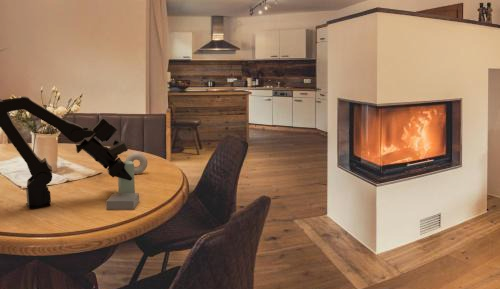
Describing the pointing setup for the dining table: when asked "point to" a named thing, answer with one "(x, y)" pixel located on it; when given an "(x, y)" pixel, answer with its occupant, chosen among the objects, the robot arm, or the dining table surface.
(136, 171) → the donut
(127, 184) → the sage green block
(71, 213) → the dining table surface
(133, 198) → the slate plinth
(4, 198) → the dining table surface
